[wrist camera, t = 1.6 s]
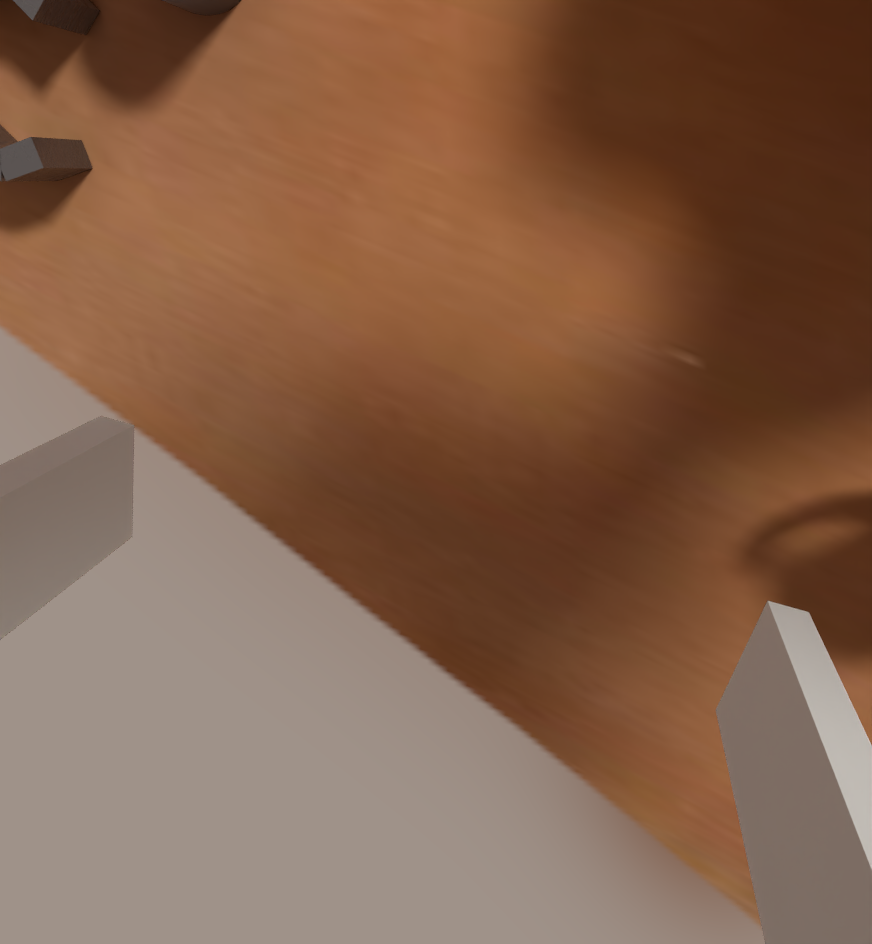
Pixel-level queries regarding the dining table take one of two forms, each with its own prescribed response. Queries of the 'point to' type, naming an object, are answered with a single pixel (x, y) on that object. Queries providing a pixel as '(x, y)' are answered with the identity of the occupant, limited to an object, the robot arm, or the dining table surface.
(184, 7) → the cap
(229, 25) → the dining table surface
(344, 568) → the dining table surface
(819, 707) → the robot arm
